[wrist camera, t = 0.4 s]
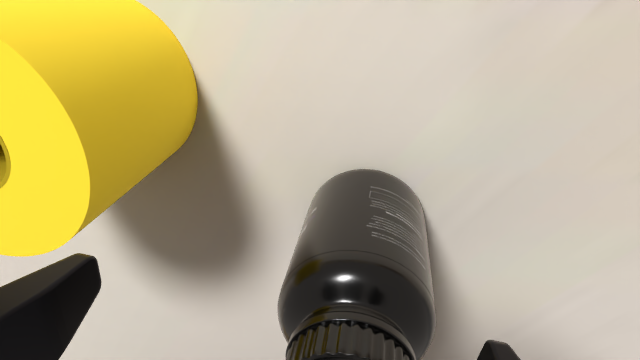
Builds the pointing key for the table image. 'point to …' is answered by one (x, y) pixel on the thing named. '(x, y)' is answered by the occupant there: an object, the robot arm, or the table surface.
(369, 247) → the supplement bottle
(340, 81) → the table surface
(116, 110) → the yellow toilet paper roll
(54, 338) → the robot arm
